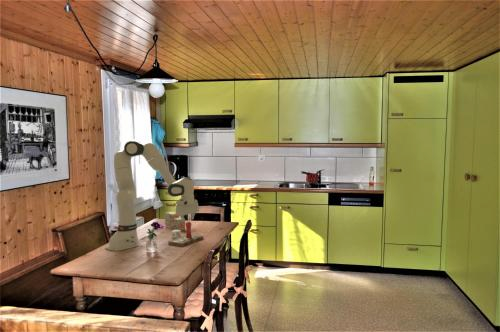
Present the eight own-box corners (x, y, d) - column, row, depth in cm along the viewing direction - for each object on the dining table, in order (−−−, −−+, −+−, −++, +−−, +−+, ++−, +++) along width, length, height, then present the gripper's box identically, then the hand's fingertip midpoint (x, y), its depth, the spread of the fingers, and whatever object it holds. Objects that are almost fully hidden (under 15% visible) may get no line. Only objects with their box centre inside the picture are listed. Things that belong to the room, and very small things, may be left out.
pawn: (189, 238, 272) (188, 222, 271) (184, 237, 274) (183, 221, 273) (193, 237, 275) (192, 221, 275) (188, 236, 278) (188, 220, 277)
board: (181, 246, 260) (181, 243, 260) (168, 244, 266) (168, 241, 266) (203, 238, 279) (203, 235, 279) (190, 236, 286) (190, 233, 285)
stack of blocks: (185, 230, 305) (184, 214, 304) (178, 231, 301) (177, 216, 300) (172, 225, 322) (171, 211, 321) (165, 227, 318) (164, 212, 317)
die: (176, 238, 281) (176, 231, 280) (171, 237, 283) (170, 230, 283) (181, 237, 285) (181, 230, 285) (176, 236, 288) (175, 229, 287)
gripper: (193, 198, 283) (193, 217, 284) (174, 202, 266) (174, 222, 267) (200, 199, 280) (200, 218, 281) (181, 203, 263) (181, 223, 264)
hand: (187, 220), depth 274 cm, fingers open, 8 cm apart
